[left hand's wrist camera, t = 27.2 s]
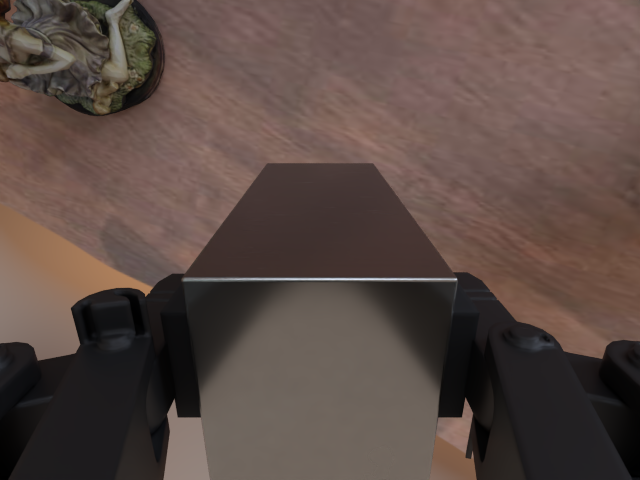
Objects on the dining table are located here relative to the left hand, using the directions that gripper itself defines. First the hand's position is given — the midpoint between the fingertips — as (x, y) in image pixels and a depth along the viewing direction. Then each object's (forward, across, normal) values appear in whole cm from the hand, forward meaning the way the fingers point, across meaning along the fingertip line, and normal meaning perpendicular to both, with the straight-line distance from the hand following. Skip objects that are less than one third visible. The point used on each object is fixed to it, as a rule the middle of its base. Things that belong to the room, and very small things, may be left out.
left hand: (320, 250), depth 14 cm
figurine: (+26, +20, -9) cm, 34 cm away
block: (+5, 0, 0) cm, 5 cm away
